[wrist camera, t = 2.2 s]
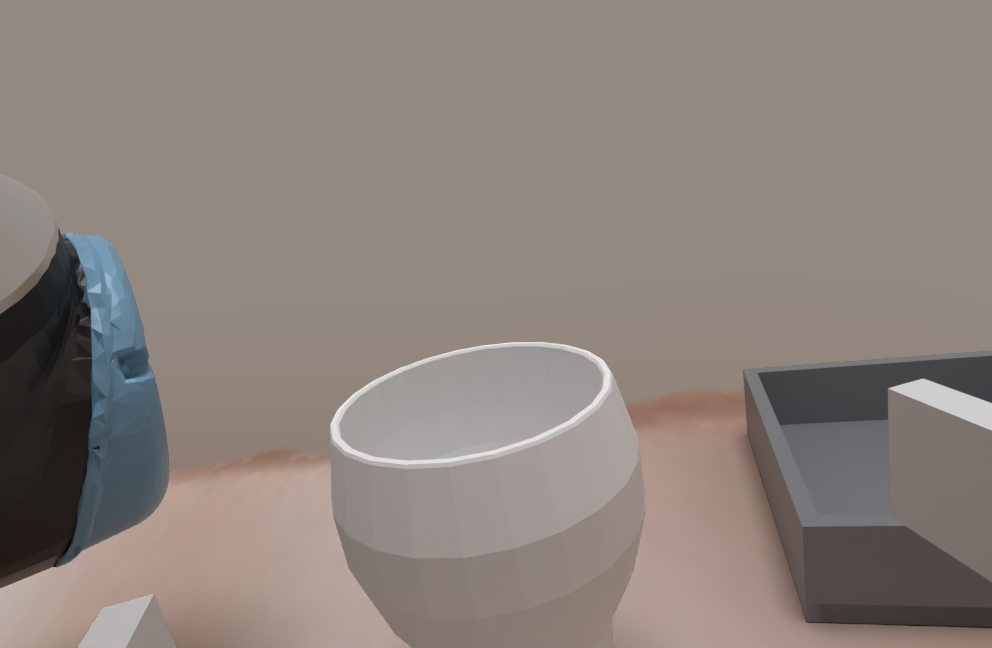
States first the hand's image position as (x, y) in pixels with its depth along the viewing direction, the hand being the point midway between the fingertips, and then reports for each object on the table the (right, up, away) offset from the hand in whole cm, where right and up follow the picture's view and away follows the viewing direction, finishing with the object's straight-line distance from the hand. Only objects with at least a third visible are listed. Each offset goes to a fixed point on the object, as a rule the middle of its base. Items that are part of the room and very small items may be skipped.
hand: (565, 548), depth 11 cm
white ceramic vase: (+1, -13, +14) cm, 19 cm away
